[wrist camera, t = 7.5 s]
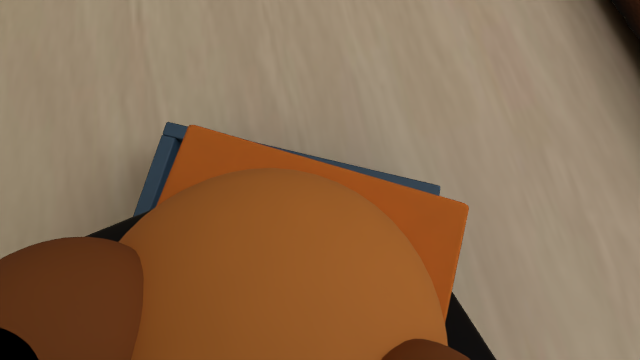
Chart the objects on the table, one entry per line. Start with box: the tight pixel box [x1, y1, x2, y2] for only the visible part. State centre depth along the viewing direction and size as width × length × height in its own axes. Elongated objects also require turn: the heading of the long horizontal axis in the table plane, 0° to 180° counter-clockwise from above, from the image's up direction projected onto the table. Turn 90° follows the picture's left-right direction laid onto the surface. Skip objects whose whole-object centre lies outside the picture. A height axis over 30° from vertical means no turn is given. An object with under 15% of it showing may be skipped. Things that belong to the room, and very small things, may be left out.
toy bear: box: [0, 125, 471, 360], centre depth 8 cm, size 5×5×12 cm
